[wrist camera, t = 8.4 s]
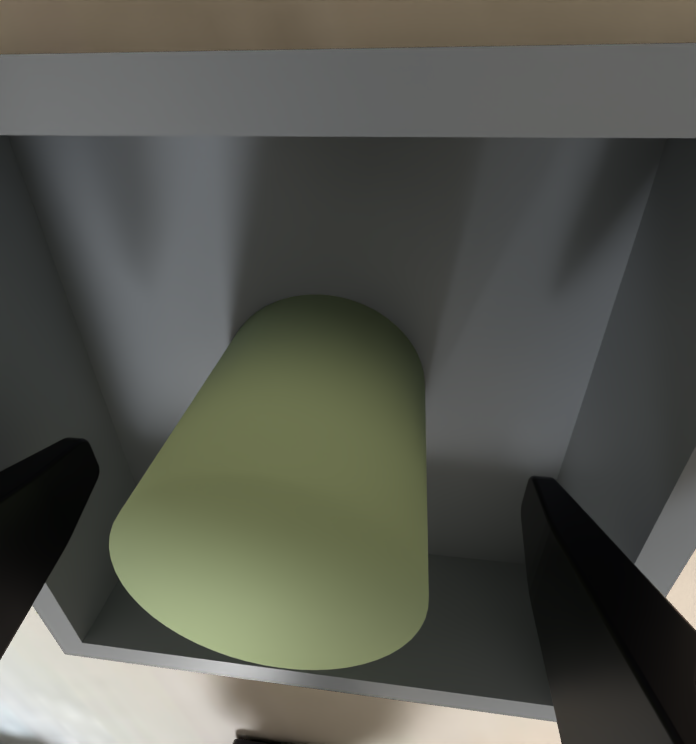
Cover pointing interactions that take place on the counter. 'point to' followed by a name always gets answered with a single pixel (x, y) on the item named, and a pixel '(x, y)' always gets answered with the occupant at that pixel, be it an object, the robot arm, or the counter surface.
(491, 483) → the charcoal bin
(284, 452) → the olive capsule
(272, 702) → the counter surface
